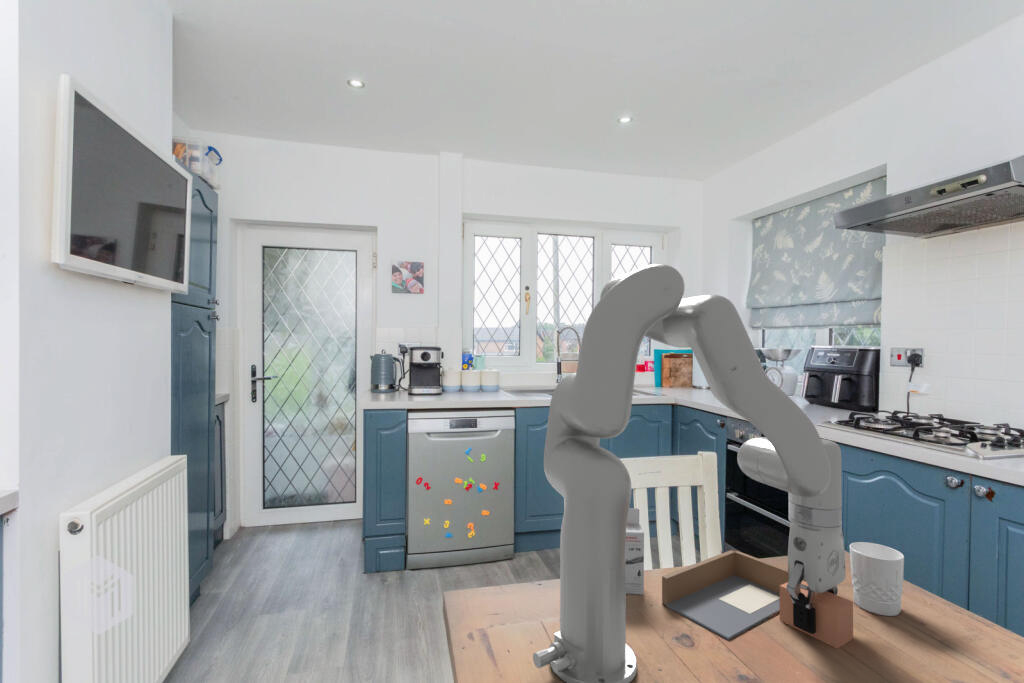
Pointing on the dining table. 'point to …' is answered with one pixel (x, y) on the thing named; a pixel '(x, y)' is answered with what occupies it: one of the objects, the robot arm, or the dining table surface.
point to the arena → (726, 592)
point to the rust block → (823, 616)
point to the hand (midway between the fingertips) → (815, 621)
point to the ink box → (634, 554)
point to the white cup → (877, 577)
